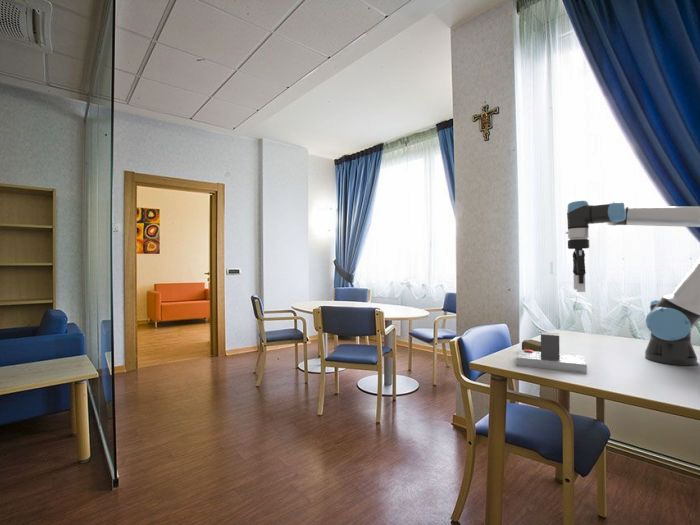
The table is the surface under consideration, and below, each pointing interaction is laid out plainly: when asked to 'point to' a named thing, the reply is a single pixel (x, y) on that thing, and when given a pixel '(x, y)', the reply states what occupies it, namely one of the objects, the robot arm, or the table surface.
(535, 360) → the socket plate
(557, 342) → the plug
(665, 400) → the table surface
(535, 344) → the stone block
